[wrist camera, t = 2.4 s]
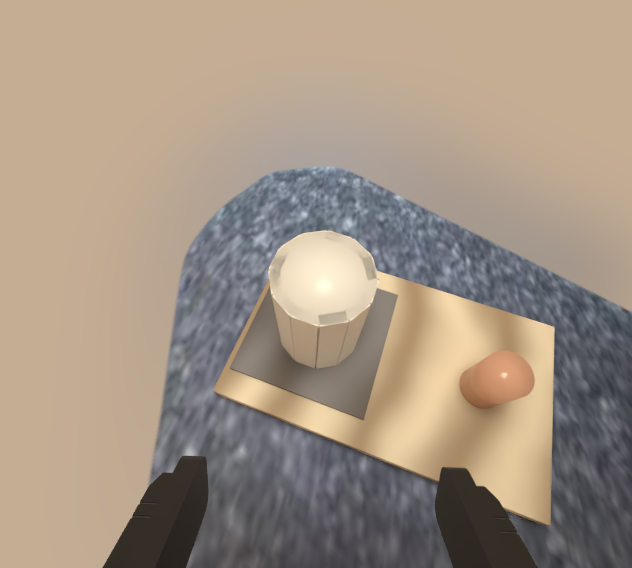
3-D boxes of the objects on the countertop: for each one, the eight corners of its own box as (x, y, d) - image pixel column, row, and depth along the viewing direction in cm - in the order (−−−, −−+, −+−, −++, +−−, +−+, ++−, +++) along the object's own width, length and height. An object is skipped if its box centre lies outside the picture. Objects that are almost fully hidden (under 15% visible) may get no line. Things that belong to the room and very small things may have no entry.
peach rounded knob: (475, 359, 28) (503, 341, 24) (508, 390, 26) (544, 376, 22) (451, 384, 27) (476, 370, 23) (484, 418, 25) (516, 408, 21)
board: (217, 394, 27) (211, 389, 26) (288, 251, 34) (287, 240, 32) (536, 522, 24) (554, 527, 22) (543, 333, 30) (557, 325, 29)
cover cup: (323, 281, 30) (329, 215, 22) (374, 333, 28) (400, 281, 20) (264, 323, 28) (247, 267, 20) (314, 384, 26) (316, 348, 18)
